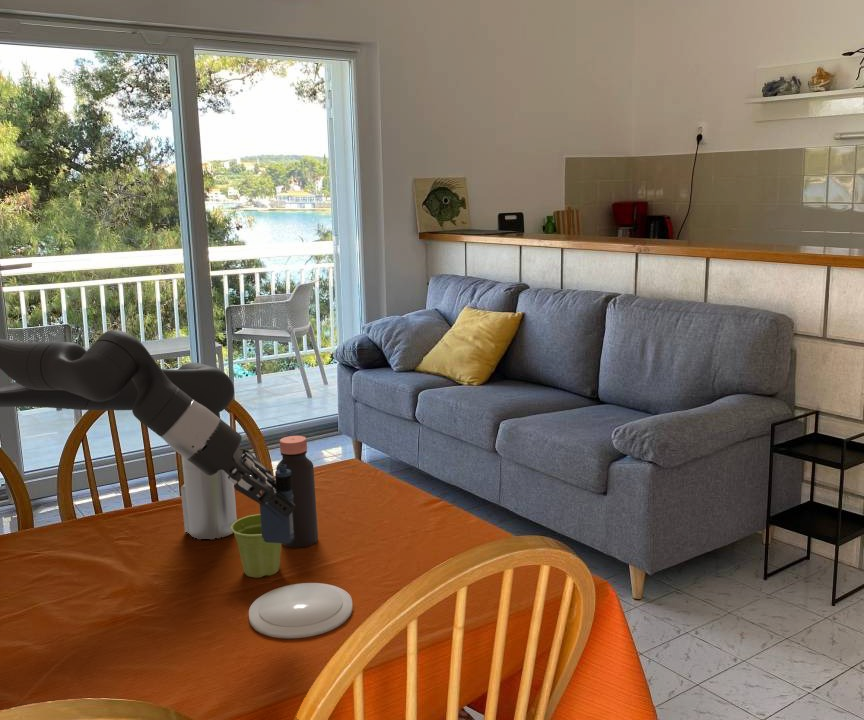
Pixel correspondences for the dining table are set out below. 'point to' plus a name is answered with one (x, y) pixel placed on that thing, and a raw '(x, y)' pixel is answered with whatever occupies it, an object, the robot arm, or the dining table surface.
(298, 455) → the bottle
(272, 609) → the plate
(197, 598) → the dining table surface
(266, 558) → the plant pot
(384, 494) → the dining table surface
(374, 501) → the dining table surface
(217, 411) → the robot arm
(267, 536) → the vaping device
